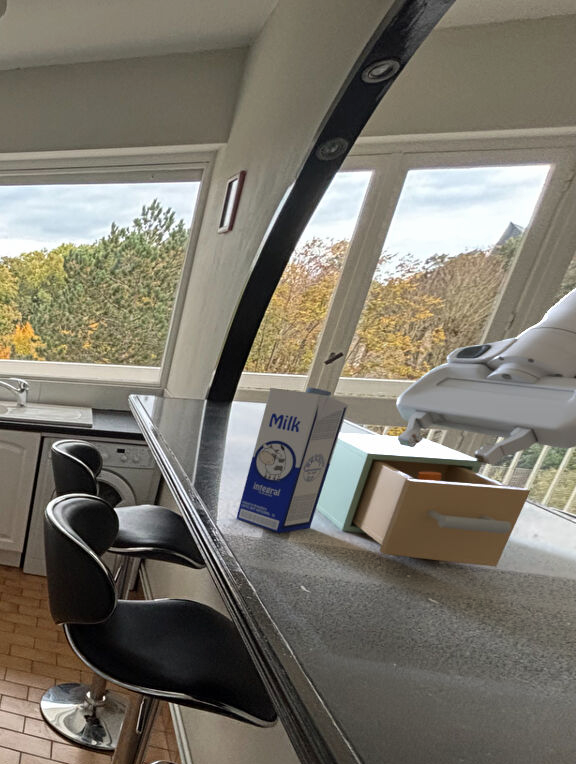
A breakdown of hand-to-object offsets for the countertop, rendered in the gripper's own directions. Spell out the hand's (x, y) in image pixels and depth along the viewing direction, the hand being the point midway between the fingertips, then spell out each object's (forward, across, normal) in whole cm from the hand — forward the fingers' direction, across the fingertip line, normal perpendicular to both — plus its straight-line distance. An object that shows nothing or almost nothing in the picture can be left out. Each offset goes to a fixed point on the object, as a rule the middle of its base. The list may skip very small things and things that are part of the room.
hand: (440, 451), depth 76 cm
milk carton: (+17, +11, -2) cm, 20 cm away
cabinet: (+5, +10, -14) cm, 18 cm away
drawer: (+9, -2, -8) cm, 13 cm away
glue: (+7, 0, -9) cm, 11 cm away
